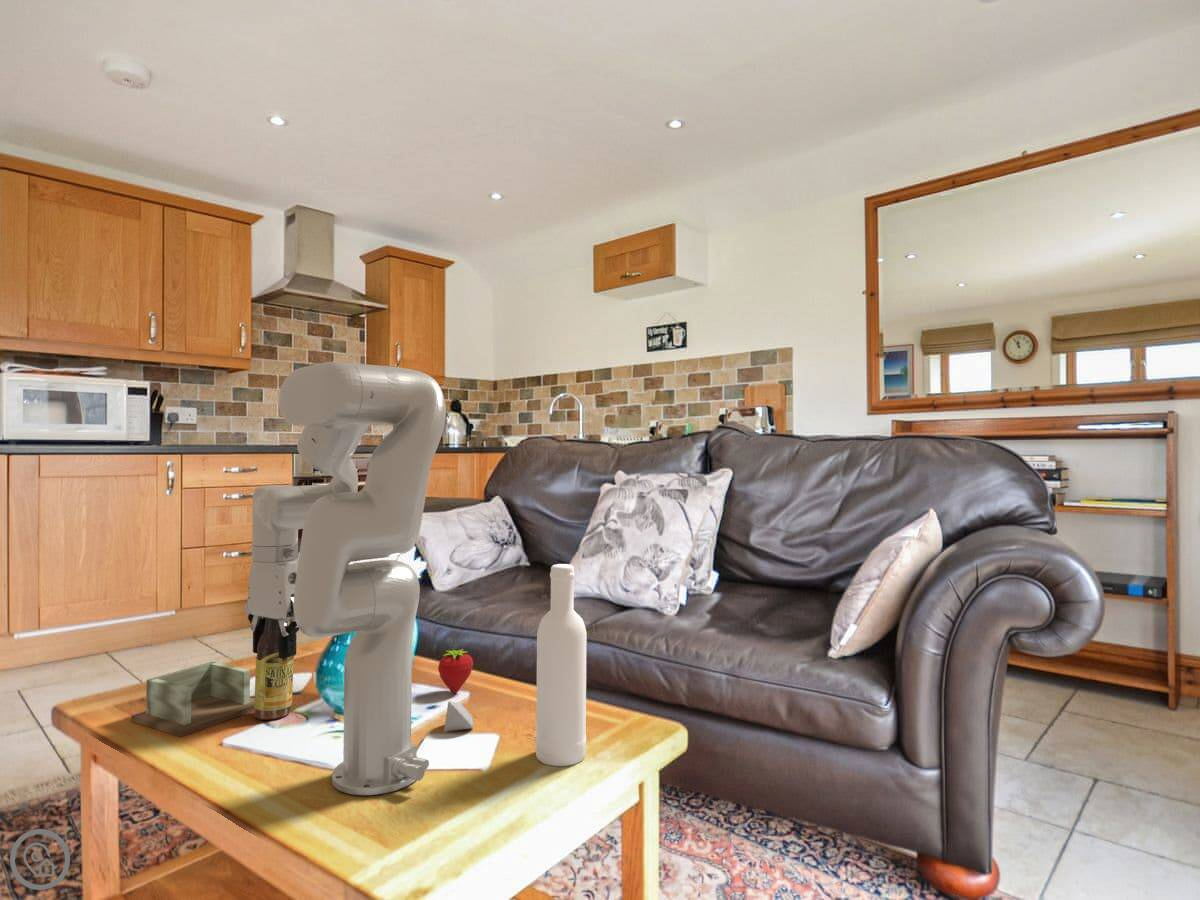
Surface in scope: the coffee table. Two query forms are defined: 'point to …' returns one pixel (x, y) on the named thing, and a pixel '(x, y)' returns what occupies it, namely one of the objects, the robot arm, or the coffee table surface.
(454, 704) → the grey pyramid
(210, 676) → the rest
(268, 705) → the sauce bottle
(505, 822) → the coffee table surface
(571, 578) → the bottle
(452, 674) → the strawberry
